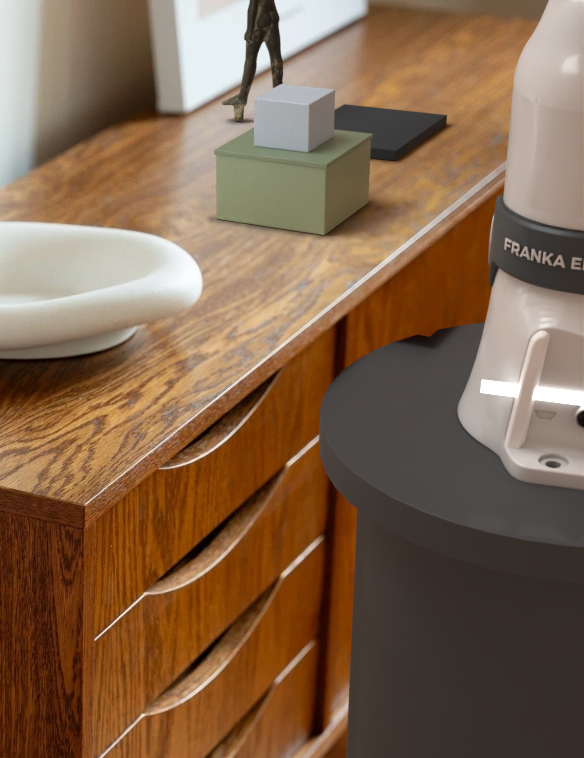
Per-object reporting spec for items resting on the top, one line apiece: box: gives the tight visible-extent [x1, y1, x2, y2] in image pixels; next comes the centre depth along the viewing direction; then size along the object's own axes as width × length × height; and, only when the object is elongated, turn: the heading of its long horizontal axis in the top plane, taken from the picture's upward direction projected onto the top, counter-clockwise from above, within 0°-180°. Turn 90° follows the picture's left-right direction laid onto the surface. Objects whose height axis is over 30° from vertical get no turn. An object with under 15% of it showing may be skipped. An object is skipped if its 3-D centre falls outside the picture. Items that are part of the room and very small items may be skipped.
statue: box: [221, 0, 284, 122], centre depth 148 cm, size 5×6×20 cm
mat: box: [334, 103, 448, 162], centre depth 146 cm, size 11×13×1 cm
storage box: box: [213, 127, 373, 236], centre depth 126 cm, size 10×9×6 cm
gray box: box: [253, 83, 336, 153], centre depth 124 cm, size 5×5×4 cm
